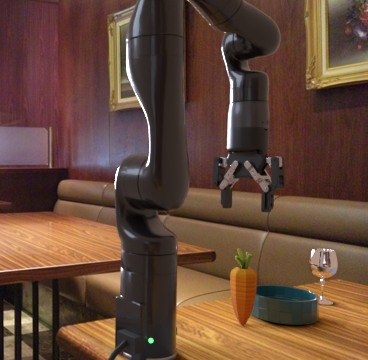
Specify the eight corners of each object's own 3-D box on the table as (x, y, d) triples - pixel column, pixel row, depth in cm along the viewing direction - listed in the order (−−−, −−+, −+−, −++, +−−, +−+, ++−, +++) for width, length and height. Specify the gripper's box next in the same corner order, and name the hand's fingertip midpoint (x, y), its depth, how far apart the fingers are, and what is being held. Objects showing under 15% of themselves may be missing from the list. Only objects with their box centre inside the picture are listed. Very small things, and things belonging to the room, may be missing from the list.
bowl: (295, 331, 94) (296, 305, 93) (234, 313, 104) (235, 290, 104) (330, 319, 101) (331, 295, 101) (270, 303, 112) (271, 282, 112)
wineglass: (302, 300, 115) (303, 248, 115) (318, 297, 117) (320, 247, 117) (325, 306, 110) (326, 253, 109) (342, 303, 112) (343, 251, 112)
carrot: (258, 330, 94) (260, 252, 93) (231, 328, 95) (232, 251, 94) (253, 322, 99) (255, 247, 98) (227, 320, 100) (228, 246, 99)
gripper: (205, 127, 99) (203, 208, 100) (271, 123, 88) (268, 214, 88) (228, 129, 104) (226, 206, 104) (294, 125, 92) (292, 212, 92)
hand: (246, 210), depth 96 cm, fingers open, 8 cm apart
